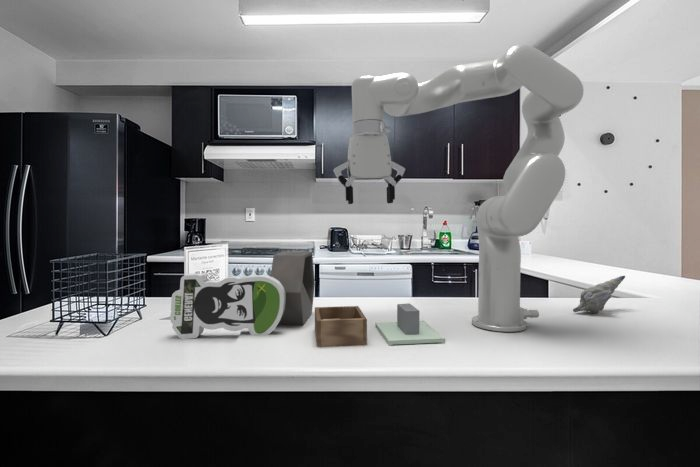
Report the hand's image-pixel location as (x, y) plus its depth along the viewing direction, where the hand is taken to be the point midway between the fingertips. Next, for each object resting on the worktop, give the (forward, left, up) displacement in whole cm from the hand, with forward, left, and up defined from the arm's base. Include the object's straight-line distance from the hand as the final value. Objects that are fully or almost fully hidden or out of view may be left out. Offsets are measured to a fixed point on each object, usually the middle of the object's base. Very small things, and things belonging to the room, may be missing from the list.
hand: (370, 203), depth 93 cm
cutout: (+33, +4, -30) cm, 44 cm away
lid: (-7, +10, -30) cm, 32 cm away
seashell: (-66, -5, -30) cm, 73 cm away
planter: (+19, -7, -30) cm, 36 cm away
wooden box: (+9, +10, -30) cm, 32 cm away
